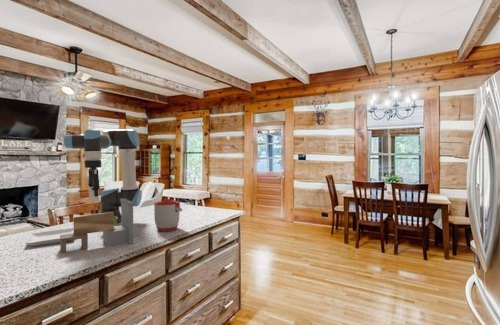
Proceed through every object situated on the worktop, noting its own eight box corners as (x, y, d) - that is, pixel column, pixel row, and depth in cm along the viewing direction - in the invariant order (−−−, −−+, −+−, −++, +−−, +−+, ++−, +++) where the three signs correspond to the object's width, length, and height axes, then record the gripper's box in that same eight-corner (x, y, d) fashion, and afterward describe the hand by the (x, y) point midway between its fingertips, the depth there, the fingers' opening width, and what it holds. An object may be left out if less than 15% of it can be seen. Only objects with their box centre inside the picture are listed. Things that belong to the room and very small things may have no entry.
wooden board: (73, 244, 141) (73, 216, 141) (112, 237, 152) (112, 211, 151) (74, 245, 139) (73, 217, 138) (114, 238, 149) (113, 212, 149)
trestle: (60, 248, 140) (60, 234, 139) (85, 244, 146) (85, 231, 146) (61, 253, 133) (61, 238, 133) (87, 248, 140) (87, 234, 140)
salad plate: (25, 249, 140) (25, 242, 140) (31, 238, 158) (31, 232, 158) (75, 242, 152) (75, 236, 151) (75, 233, 170) (75, 227, 169)
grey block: (102, 239, 156) (101, 200, 155) (125, 235, 163) (125, 198, 163) (108, 248, 141) (108, 205, 140) (134, 243, 148) (133, 202, 147)
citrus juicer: (176, 233, 167) (175, 199, 166) (149, 232, 170) (148, 199, 169) (186, 226, 182) (186, 196, 182) (161, 225, 185) (161, 195, 185)
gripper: (81, 159, 152) (82, 198, 152) (88, 160, 132) (89, 205, 133) (97, 159, 156) (98, 197, 157) (105, 160, 136) (106, 203, 137)
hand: (94, 200), depth 145 cm, fingers open, 13 cm apart
